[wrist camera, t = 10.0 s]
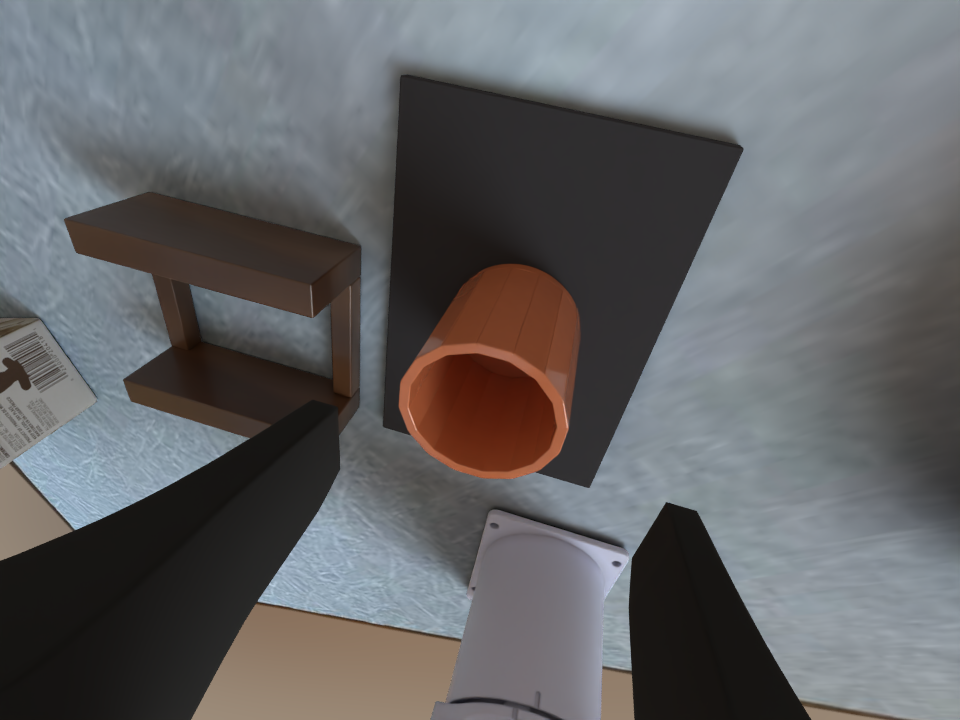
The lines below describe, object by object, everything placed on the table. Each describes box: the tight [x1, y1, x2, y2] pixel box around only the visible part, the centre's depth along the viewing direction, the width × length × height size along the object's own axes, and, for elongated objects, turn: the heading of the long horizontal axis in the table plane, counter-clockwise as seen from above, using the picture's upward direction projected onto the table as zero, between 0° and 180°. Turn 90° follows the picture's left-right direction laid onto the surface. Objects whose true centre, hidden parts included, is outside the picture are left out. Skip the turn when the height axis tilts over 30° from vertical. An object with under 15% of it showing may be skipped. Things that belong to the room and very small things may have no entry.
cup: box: [399, 264, 580, 479], centre depth 17 cm, size 5×5×6 cm
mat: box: [383, 75, 743, 488], centre depth 20 cm, size 16×11×1 cm
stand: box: [64, 192, 361, 438], centre depth 21 cm, size 9×10×4 cm
